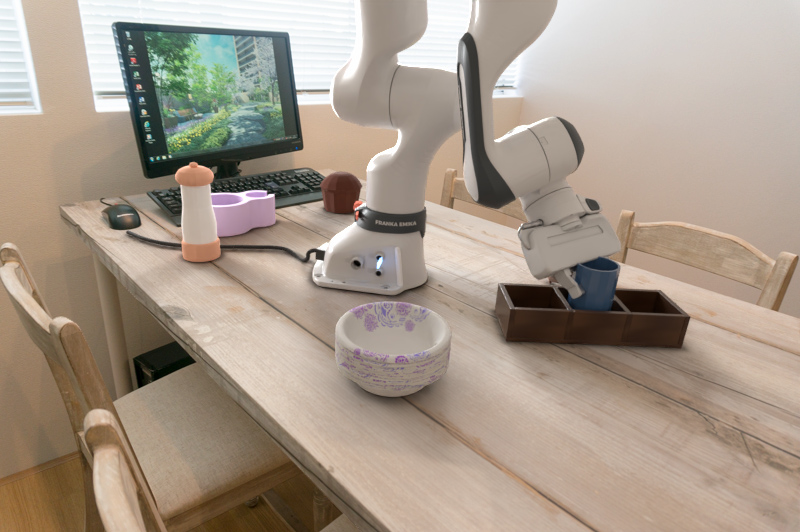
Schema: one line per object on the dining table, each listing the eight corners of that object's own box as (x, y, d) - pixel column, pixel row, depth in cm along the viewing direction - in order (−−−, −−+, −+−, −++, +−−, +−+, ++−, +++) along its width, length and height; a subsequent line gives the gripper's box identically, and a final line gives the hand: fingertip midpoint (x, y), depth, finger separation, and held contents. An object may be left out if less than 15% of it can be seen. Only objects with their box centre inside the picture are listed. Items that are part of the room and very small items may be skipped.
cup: (572, 328, 84) (584, 270, 80) (559, 308, 91) (569, 254, 87) (614, 329, 85) (627, 272, 81) (598, 310, 91) (610, 256, 87)
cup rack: (505, 341, 83) (510, 309, 81) (494, 312, 92) (498, 282, 90) (681, 348, 84) (690, 316, 82) (653, 318, 93) (660, 289, 91)
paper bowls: (356, 423, 63) (358, 366, 60) (321, 357, 75) (321, 308, 72) (467, 398, 69) (474, 344, 66) (417, 341, 81) (421, 294, 78)
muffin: (343, 217, 138) (343, 179, 134) (311, 209, 144) (310, 172, 140) (369, 208, 148) (371, 172, 144) (339, 201, 153) (339, 166, 149)
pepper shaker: (191, 264, 104) (181, 168, 97) (177, 253, 109) (167, 160, 102) (226, 257, 108) (219, 164, 101) (211, 247, 113) (204, 157, 106)
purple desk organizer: (259, 213, 138) (258, 187, 135) (284, 226, 129) (283, 198, 127) (182, 226, 125) (179, 197, 122) (204, 241, 117) (201, 210, 114)
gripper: (527, 215, 80) (569, 298, 77) (605, 199, 92) (645, 270, 88) (501, 234, 85) (540, 313, 82) (578, 217, 97) (615, 285, 93)
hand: (595, 290), depth 85 cm, fingers closed on cup, 7 cm apart
